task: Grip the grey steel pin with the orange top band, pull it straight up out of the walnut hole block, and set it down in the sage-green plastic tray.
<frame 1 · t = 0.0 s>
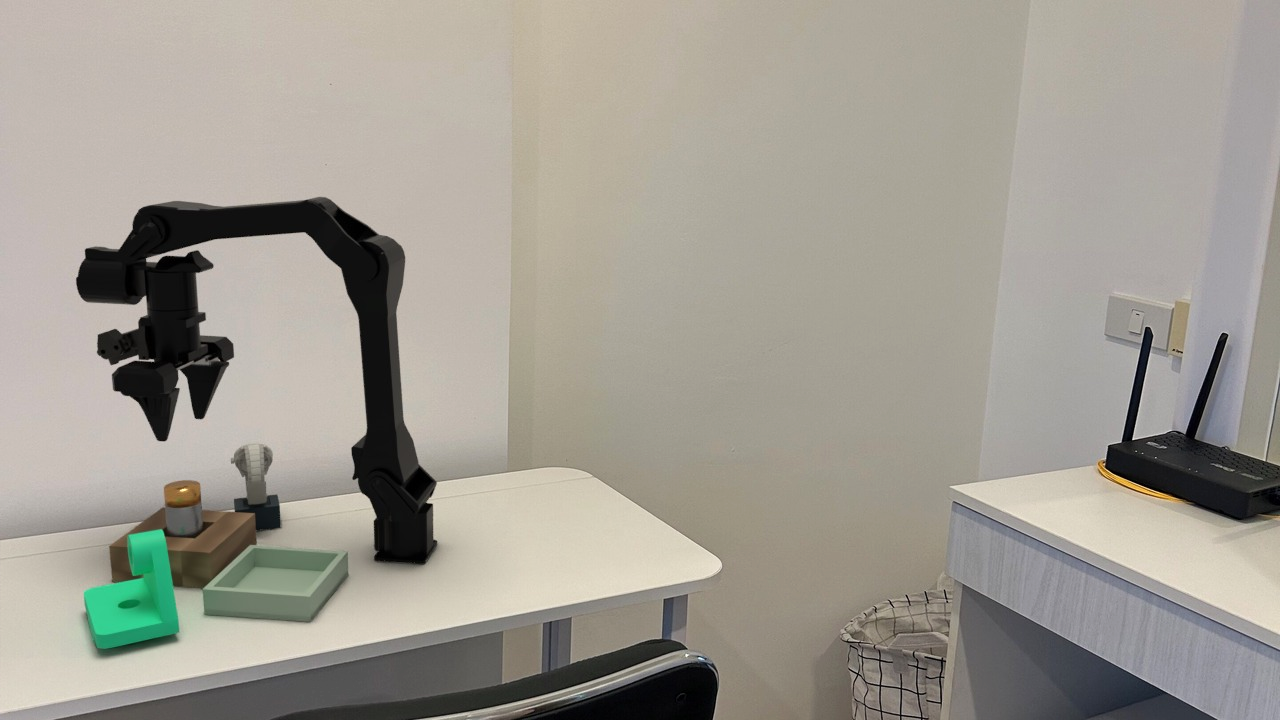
hand: (181, 429, 132), 15 cm above the table, tool pointing down, fingers open, 9 cm apart
hole block: (187, 563, 128), on the table
camera mount: (131, 628, 114), on the table
watch: (257, 525, 141), on the table
steel pin: (184, 525, 127), in the hole block
tray: (279, 593, 122), on the table
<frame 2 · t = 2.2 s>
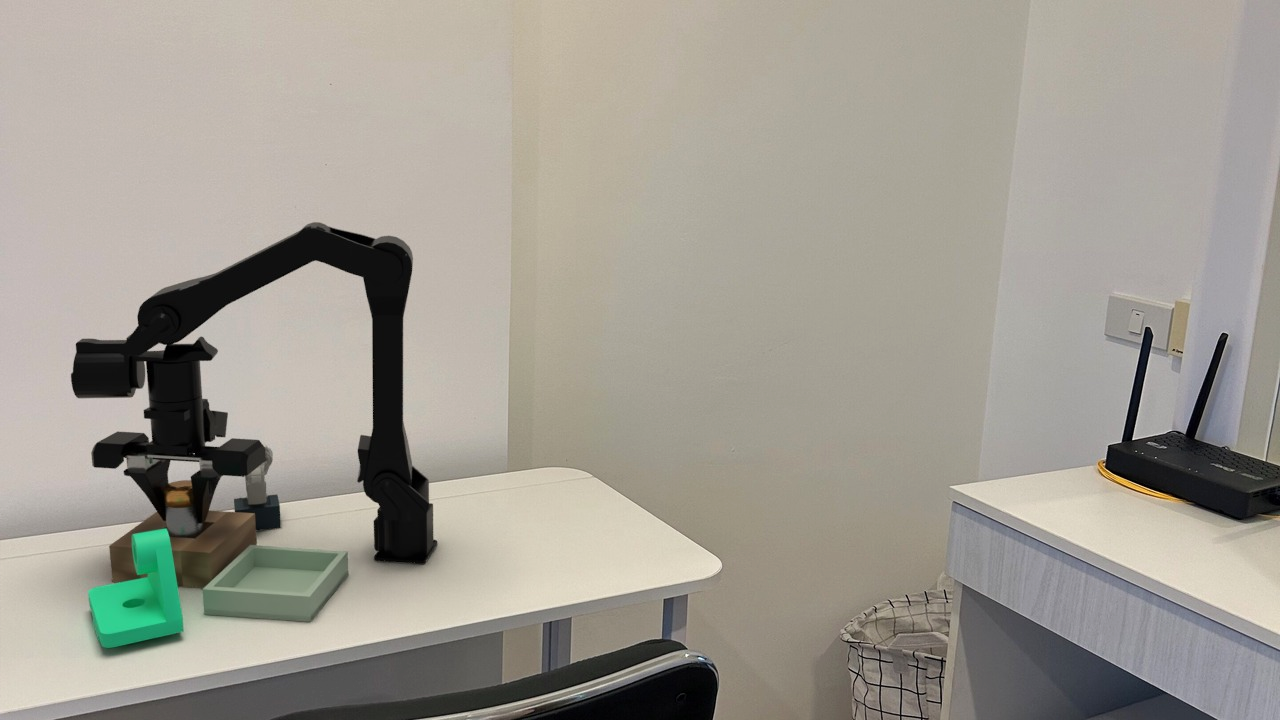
hand: (184, 521, 127), 6 cm above the table, tool pointing down, fingers closed on steel pin, 4 cm apart
steel pin: (184, 525, 127), in the hole block, touching gripper
everything else where it was.
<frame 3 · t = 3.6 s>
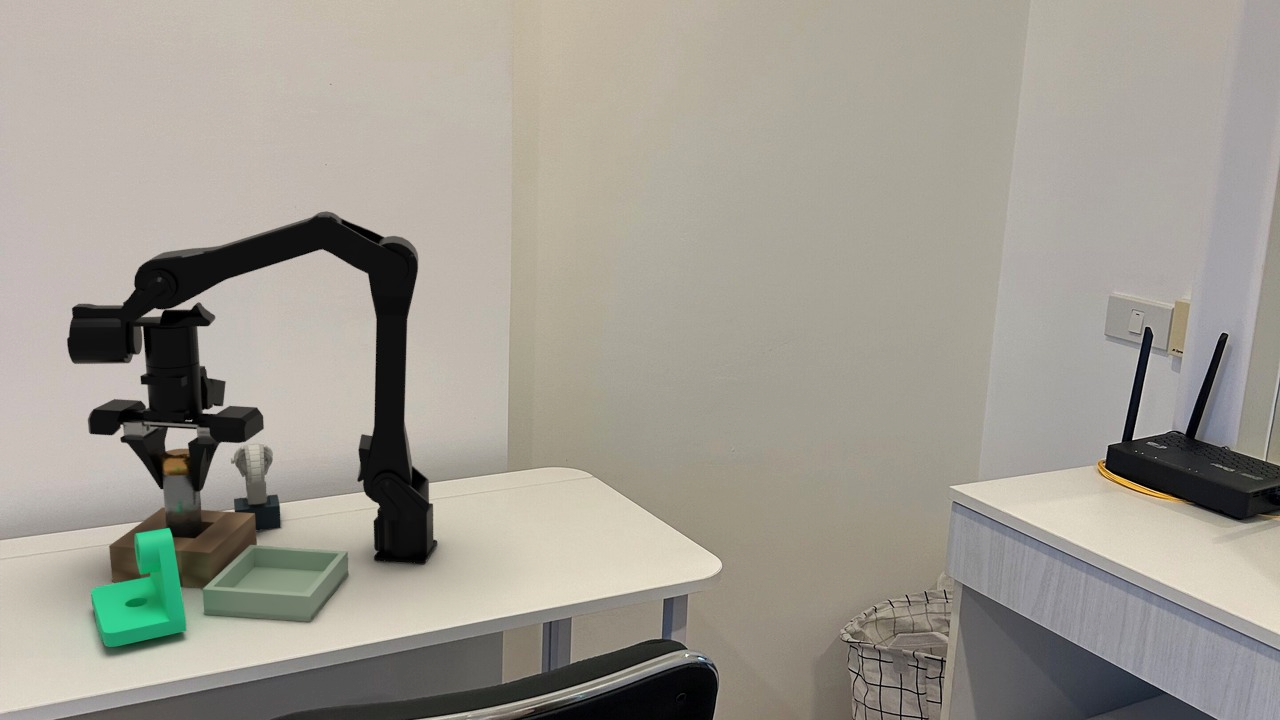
hand: (181, 489, 126), 10 cm above the table, tool pointing down, fingers closed on steel pin, 4 cm apart
steel pin: (182, 493, 126), point 9 cm above the table, touching gripper
everything else where it was.
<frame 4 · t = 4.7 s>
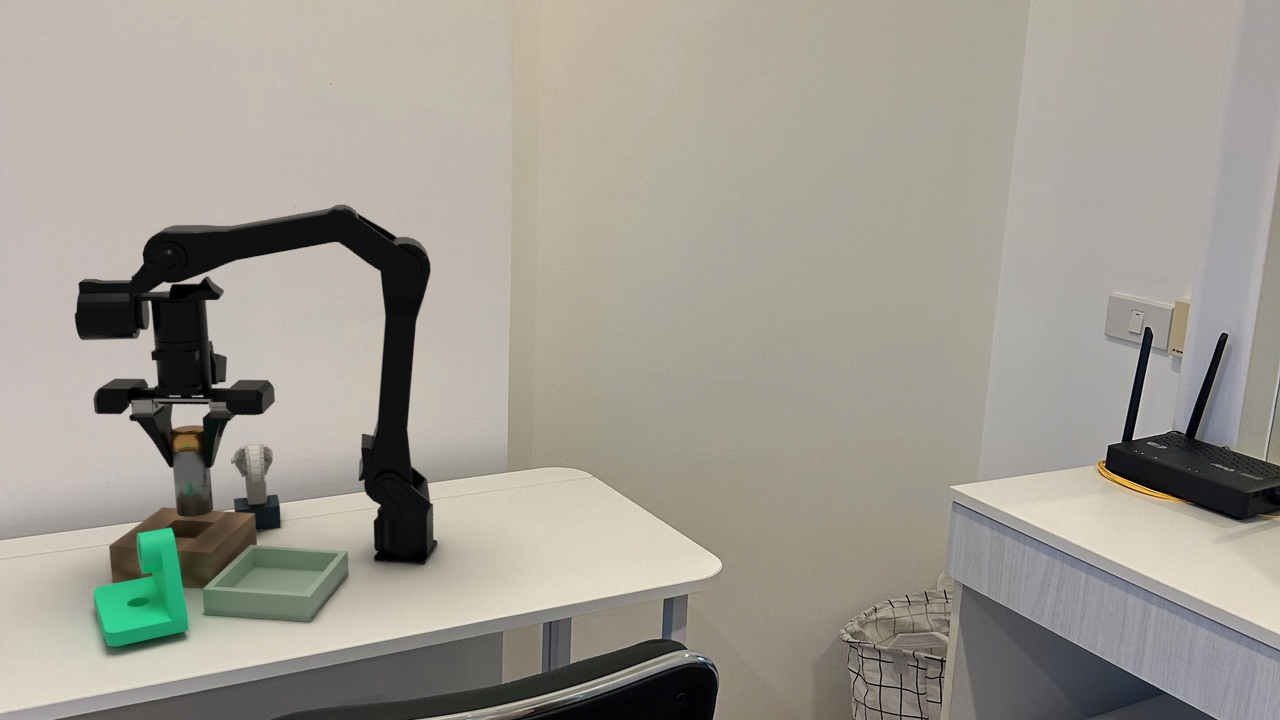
hand: (191, 466, 125), 13 cm above the table, tool pointing down, fingers closed on steel pin, 4 cm apart
steel pin: (191, 470, 125), point 12 cm above the table, touching gripper
everything else where it was.
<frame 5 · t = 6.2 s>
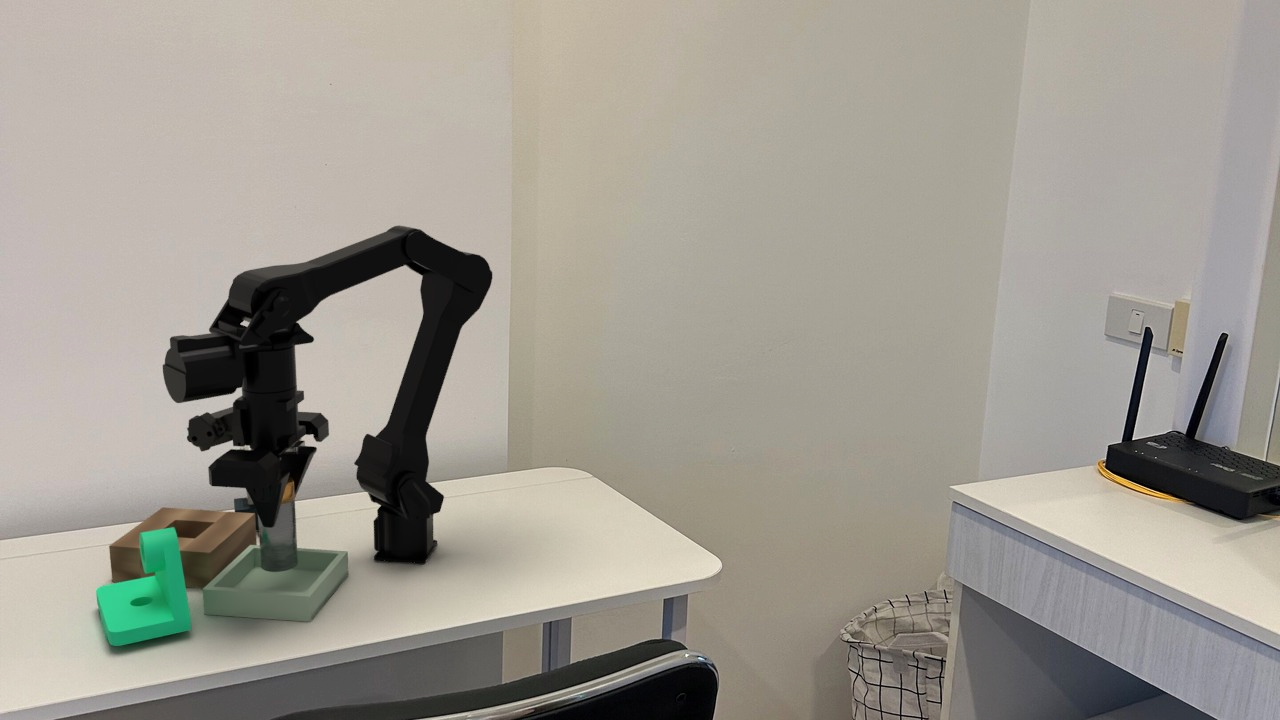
hand: (276, 519, 120), 9 cm above the table, tool pointing down, fingers closed on steel pin, 4 cm apart
steel pin: (277, 523, 120), point 9 cm above the table, touching gripper
when the fingers open (8 cm above the table, at t = 7.2 s): steel pin drops 1 cm, resting on tray.
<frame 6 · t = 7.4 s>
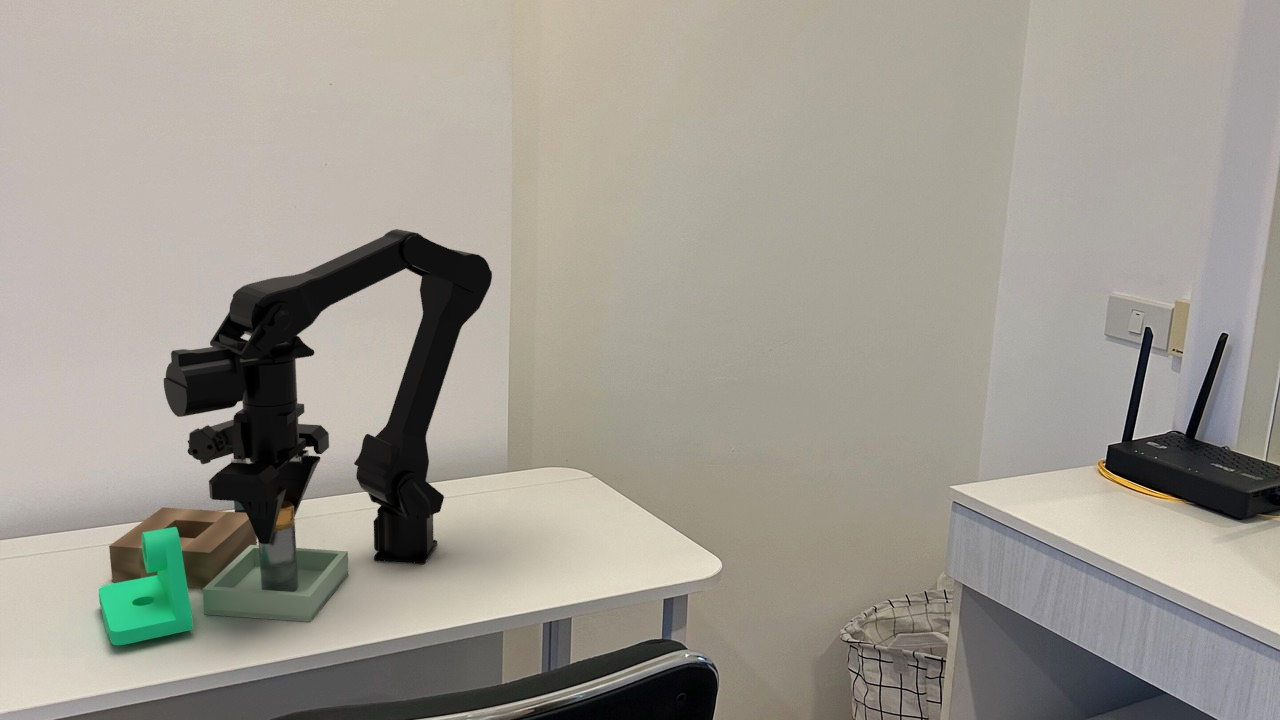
hand: (276, 531, 120), 8 cm above the table, tool pointing down, fingers open, 6 cm apart
steel pin: (277, 548, 120), in the tray, point 6 cm above the table
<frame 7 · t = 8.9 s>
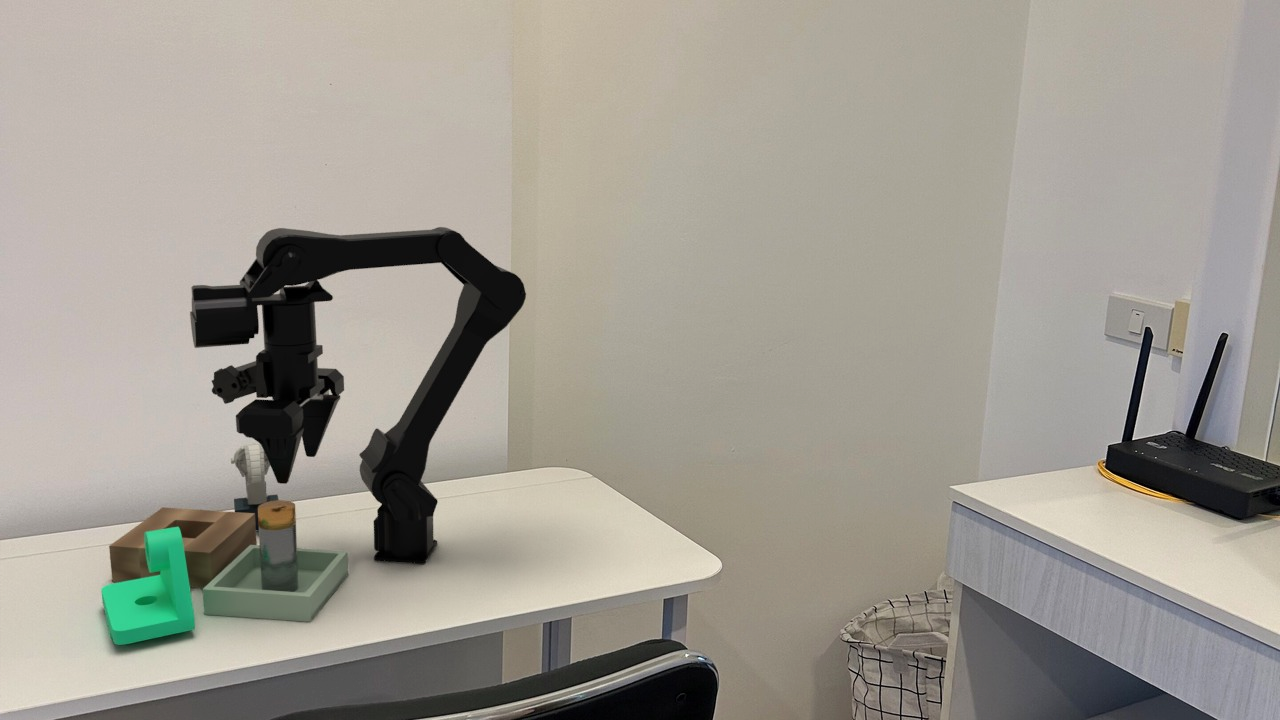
hand: (297, 469, 125), 13 cm above the table, tool pointing down, fingers open, 9 cm apart
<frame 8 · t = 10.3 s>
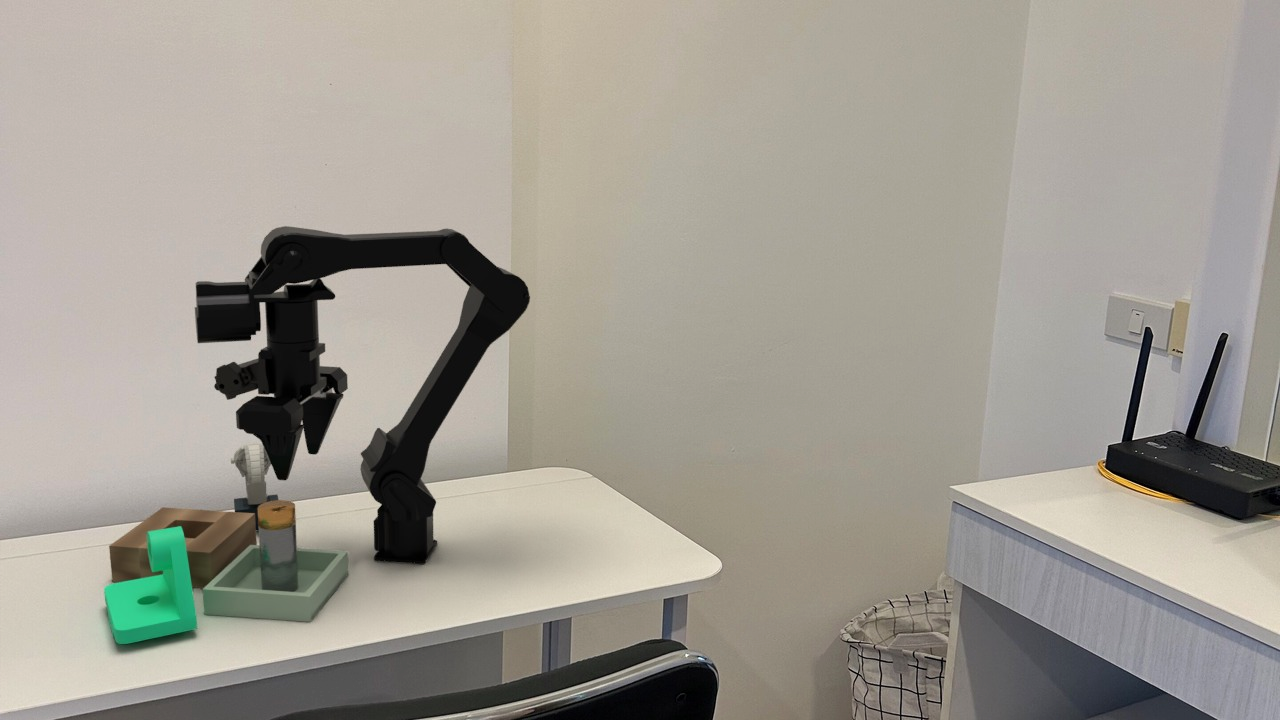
hand: (298, 466, 125), 13 cm above the table, tool pointing down, fingers open, 9 cm apart
at the end: steel pin inside the target area on the tray (0.1 cm from its centre), point 5.6 cm above the tray's base; the gripper is holding nothing; steel pin moved 15.3 cm from its start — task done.
